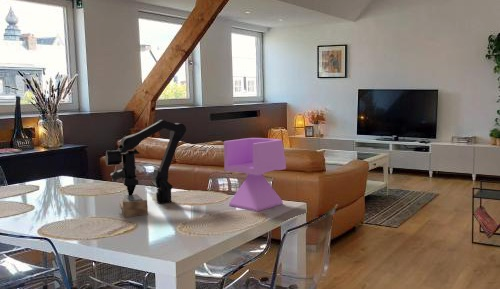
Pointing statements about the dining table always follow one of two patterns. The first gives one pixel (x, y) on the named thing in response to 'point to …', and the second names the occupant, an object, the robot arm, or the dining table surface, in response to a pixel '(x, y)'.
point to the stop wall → (135, 208)
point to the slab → (132, 198)
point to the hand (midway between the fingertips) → (130, 196)
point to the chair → (254, 170)
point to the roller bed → (122, 205)
